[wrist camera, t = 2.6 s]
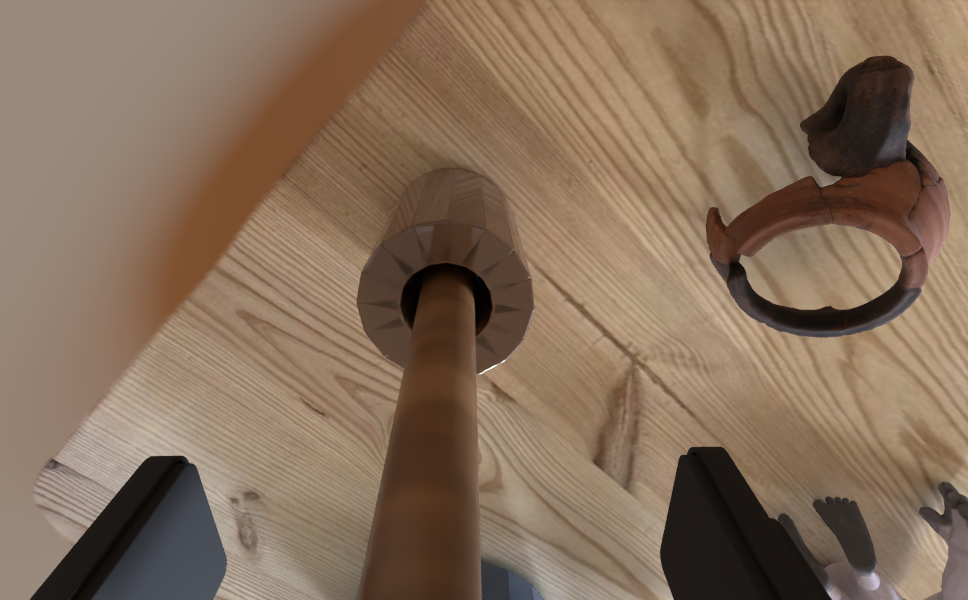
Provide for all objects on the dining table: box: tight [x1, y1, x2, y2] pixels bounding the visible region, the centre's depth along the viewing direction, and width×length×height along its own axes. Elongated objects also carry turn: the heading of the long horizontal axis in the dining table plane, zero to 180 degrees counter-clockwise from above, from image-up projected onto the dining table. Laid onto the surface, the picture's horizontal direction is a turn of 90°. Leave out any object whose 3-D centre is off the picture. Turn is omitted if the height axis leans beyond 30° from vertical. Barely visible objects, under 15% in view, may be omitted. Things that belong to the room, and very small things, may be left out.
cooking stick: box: [357, 263, 482, 600], centre depth 17 cm, size 2×2×20 cm
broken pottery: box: [706, 56, 950, 338], centre depth 23 cm, size 12×10×8 cm
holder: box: [357, 168, 535, 375], centre depth 22 cm, size 6×6×9 cm
